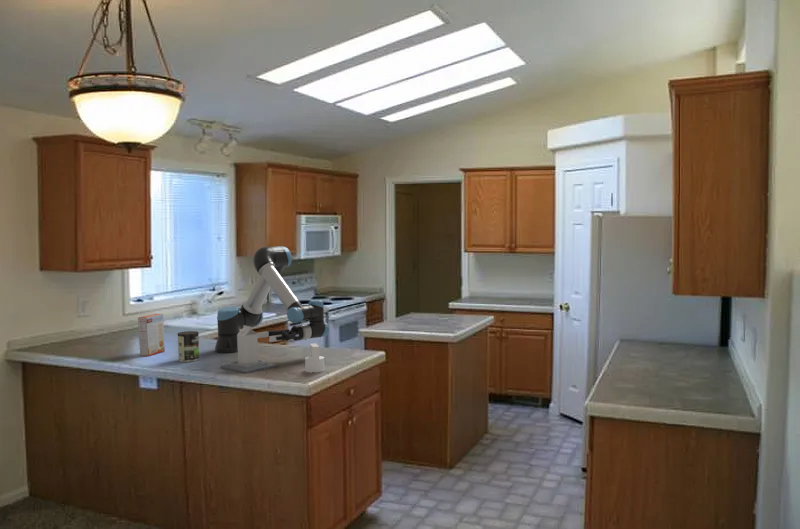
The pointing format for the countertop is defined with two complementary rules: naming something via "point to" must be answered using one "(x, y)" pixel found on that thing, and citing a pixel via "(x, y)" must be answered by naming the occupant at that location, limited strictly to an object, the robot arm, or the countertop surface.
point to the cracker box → (151, 334)
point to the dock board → (248, 368)
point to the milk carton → (247, 346)
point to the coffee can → (188, 346)
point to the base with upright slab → (314, 360)
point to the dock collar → (248, 365)
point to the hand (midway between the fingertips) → (262, 337)
